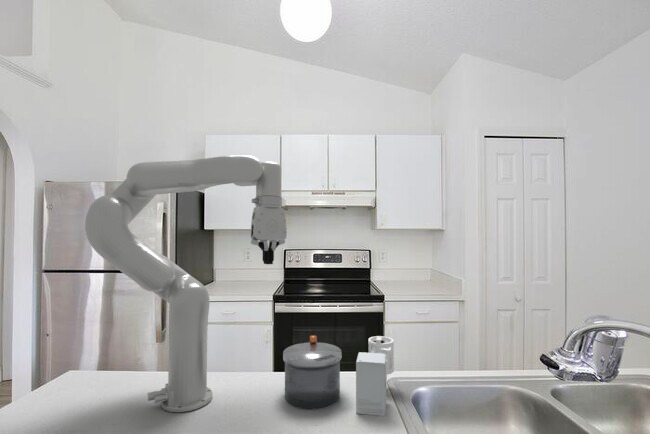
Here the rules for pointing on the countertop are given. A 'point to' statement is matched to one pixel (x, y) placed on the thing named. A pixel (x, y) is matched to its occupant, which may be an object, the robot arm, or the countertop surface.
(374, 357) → the supplement box
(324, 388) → the grey rounded cylinder
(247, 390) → the countertop surface
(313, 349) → the lid
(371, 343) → the white caged cylinder
